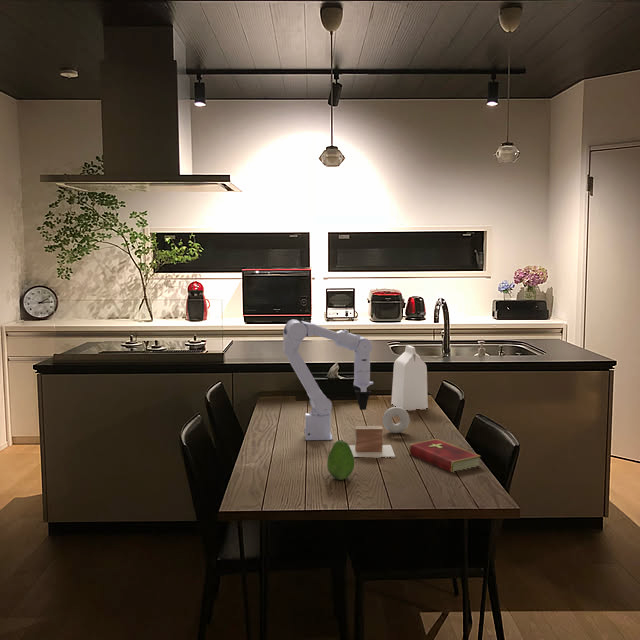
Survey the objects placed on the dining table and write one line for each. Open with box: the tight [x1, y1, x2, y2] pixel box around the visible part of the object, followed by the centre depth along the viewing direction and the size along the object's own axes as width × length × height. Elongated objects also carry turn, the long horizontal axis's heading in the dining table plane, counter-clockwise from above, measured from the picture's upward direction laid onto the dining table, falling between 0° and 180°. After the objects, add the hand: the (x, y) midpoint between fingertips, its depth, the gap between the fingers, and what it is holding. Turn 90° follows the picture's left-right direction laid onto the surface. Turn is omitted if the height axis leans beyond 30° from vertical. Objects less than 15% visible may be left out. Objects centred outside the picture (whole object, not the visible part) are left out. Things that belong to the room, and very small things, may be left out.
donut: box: [382, 406, 411, 434], centre depth 249 cm, size 10×3×10 cm, turn 91°
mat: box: [348, 444, 396, 459], centre depth 228 cm, size 16×12×1 cm
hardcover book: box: [408, 438, 482, 473], centre depth 219 cm, size 12×21×4 cm, turn 31°
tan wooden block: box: [354, 425, 384, 452], centre depth 227 cm, size 4×9×8 cm, turn 91°
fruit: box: [326, 439, 355, 481], centre depth 202 cm, size 8×8×12 cm
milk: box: [390, 344, 429, 411], centre depth 287 cm, size 12×12×26 cm
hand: (361, 406), depth 246 cm, fingers open, 7 cm apart
